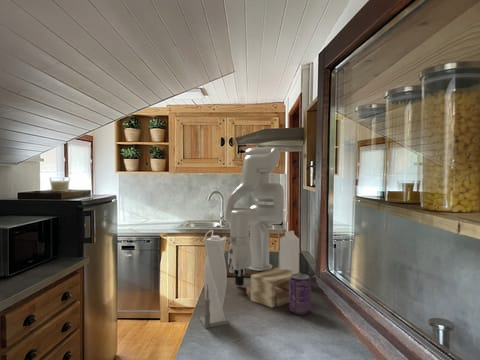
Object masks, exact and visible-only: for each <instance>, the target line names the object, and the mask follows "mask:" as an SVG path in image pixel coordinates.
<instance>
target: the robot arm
mask: <svg viewBox="0 0 480 360" xmlns="http://www.w3.org/2000/svg"><path fill="white" fill-rule="evenodd" d="M244 156H245V157H244V158H243V163H242V170H241V176H240V183H239V185H238V186H237V187H236V188H235V189H234V190H233V191H232V192H231V194H230V195H229V197H228V199H227V203H226V207H225V215H224V217H225V221H226V223H227V224H228V225H230V237H229V247H228V254H227V255H228V256H227V266H228V269H229V273H231V274H233V275H234V276H235V279H234V280H235V281H234V283H235V285H236V286H238V287H241V286H244V283H245V282H244V278H245V277H244V276H245V274H246V271H247V270H252V271H258V272H260V271H261V272H263V271H267V270H270V269H273V264H271V263H270V231H269V230H268V228H267V226H266V225H280V224H282V223H283V221H284V214H285V213H284V212H285V211H284V207H285V203H284V201H285V193H284V186H283V185H282V184H281V183H280V182H279V183H278V182H270V173H273V172H274V171H275V170H276V168H277V165H278V164H279V162H280V159H281V152H280V150H279V148H278V147H276V146H267V147H266V146H264V147H263V146H261V147H259V146H257V147H256V146H255V147H254V146H253V147H250V148H247V149H246V150H245V152H244ZM250 194H251V198H252V200H253V201H255V202H258V203H259V202H262V203H263V202H264V203H268V202H269V203H273V204H261V203H259V204H258V203H257V204H252V205H251V206H250V207H249V208H247V207H236V204H237V203H238V201H239V200H240V199H242V198H243V197H245V196H247V195H250Z"/></svg>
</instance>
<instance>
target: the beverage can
mask: <svg viewBox="0 0 480 360" xmlns="http://www.w3.org/2000/svg"><path fill="white" fill-rule="evenodd" d="M288 304H289V305H288V306H289V307H288V309H289V311H290V312H291V313H294V314H296V315H301V316H303V315H307V314H308V313H311V311H312V282H311V279H310V275H309V274H304V273H300V274H292V275H291V279H290V285H289V303H288Z"/></svg>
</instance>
